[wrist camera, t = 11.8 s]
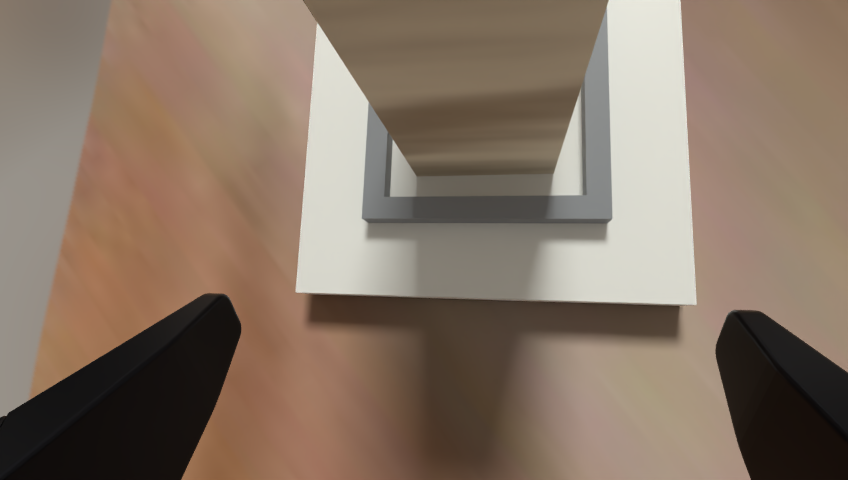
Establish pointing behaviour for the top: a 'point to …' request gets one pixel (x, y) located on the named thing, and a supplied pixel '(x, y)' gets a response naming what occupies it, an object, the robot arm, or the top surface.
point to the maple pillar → (468, 76)
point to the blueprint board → (514, 191)
